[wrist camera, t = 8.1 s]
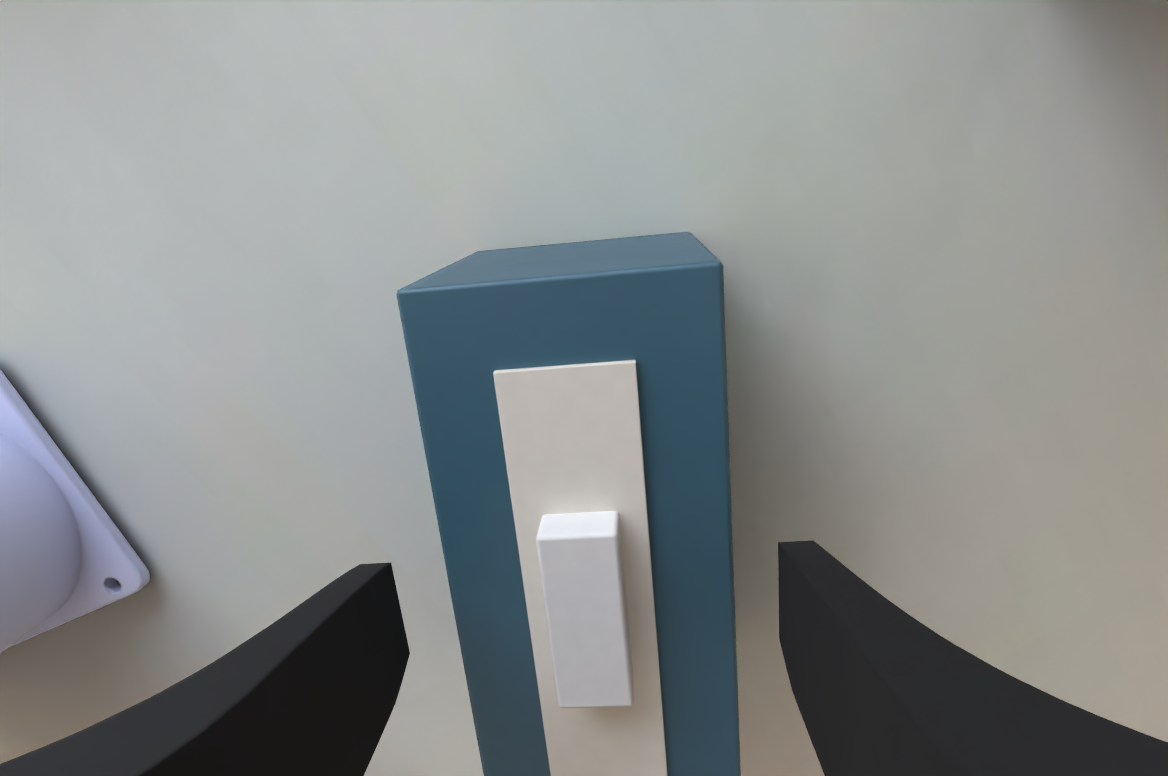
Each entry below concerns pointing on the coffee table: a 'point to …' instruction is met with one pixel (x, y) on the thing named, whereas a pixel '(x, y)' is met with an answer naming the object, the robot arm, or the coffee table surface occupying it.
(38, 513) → the robot arm
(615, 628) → the tissue box
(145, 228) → the coffee table surface
